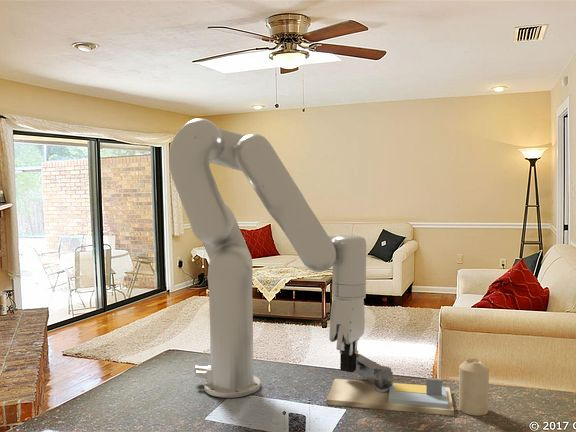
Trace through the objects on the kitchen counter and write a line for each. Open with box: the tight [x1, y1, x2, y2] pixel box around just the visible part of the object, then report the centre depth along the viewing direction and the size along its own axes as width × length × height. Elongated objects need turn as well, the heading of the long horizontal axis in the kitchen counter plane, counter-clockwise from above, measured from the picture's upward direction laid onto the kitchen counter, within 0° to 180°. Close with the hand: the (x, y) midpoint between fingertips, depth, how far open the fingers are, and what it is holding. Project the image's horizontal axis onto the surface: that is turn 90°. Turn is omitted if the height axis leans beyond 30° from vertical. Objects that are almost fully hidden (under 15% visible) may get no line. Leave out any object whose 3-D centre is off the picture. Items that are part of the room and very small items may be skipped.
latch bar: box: [353, 350, 394, 388], centre depth 115 cm, size 14×4×4 cm, turn 23°
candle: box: [458, 357, 490, 417], centre depth 102 cm, size 6×6×10 cm
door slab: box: [389, 377, 448, 408], centre depth 106 cm, size 12×9×4 cm
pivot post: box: [375, 386, 390, 393], centre depth 110 cm, size 3×3×2 cm
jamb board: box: [325, 378, 455, 416], centre depth 108 cm, size 25×12×1 cm, turn 76°
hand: (348, 370), depth 116 cm, fingers closed
